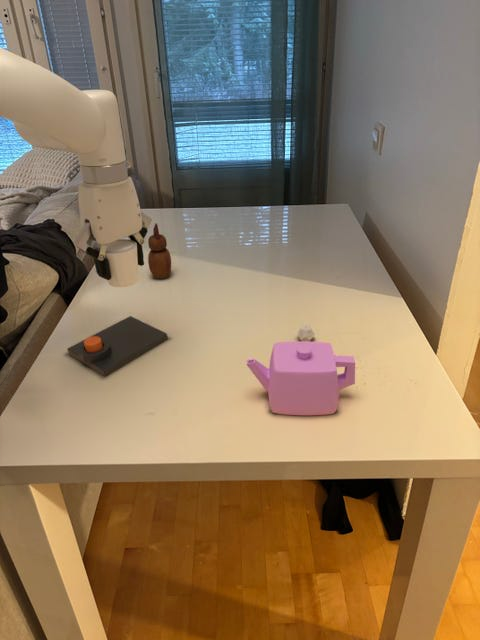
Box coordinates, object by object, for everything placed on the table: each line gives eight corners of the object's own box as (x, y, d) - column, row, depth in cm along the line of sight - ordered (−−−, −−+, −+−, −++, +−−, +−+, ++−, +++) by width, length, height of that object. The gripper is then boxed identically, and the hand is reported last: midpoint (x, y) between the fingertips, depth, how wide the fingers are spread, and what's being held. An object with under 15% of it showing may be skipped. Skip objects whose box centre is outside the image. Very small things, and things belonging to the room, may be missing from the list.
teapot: (246, 416, 77) (245, 367, 71) (248, 377, 86) (247, 330, 80) (357, 418, 76) (364, 367, 70) (347, 377, 85) (353, 330, 79)
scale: (102, 378, 87) (99, 365, 85) (66, 355, 93) (62, 343, 92) (167, 339, 97) (166, 326, 96) (131, 321, 104) (129, 309, 102)
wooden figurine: (171, 280, 121) (165, 225, 113) (149, 281, 121) (141, 226, 113) (173, 269, 127) (167, 216, 119) (152, 270, 127) (144, 217, 119)
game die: (296, 344, 94) (296, 331, 93) (297, 334, 97) (298, 322, 96) (313, 345, 94) (314, 333, 92) (314, 335, 97) (315, 323, 95)
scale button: (92, 354, 89) (90, 347, 88) (82, 349, 90) (80, 341, 89) (105, 347, 91) (104, 339, 90) (96, 341, 92) (94, 334, 92)
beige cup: (137, 288, 84) (132, 252, 81) (100, 289, 85) (93, 253, 81) (145, 272, 90) (140, 238, 87) (110, 272, 91) (104, 238, 87)
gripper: (131, 160, 85) (144, 251, 94) (45, 181, 74) (69, 282, 83) (159, 165, 81) (170, 260, 90) (71, 188, 70) (94, 293, 79)
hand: (121, 269), depth 86 cm, fingers closed on beige cup, 6 cm apart
